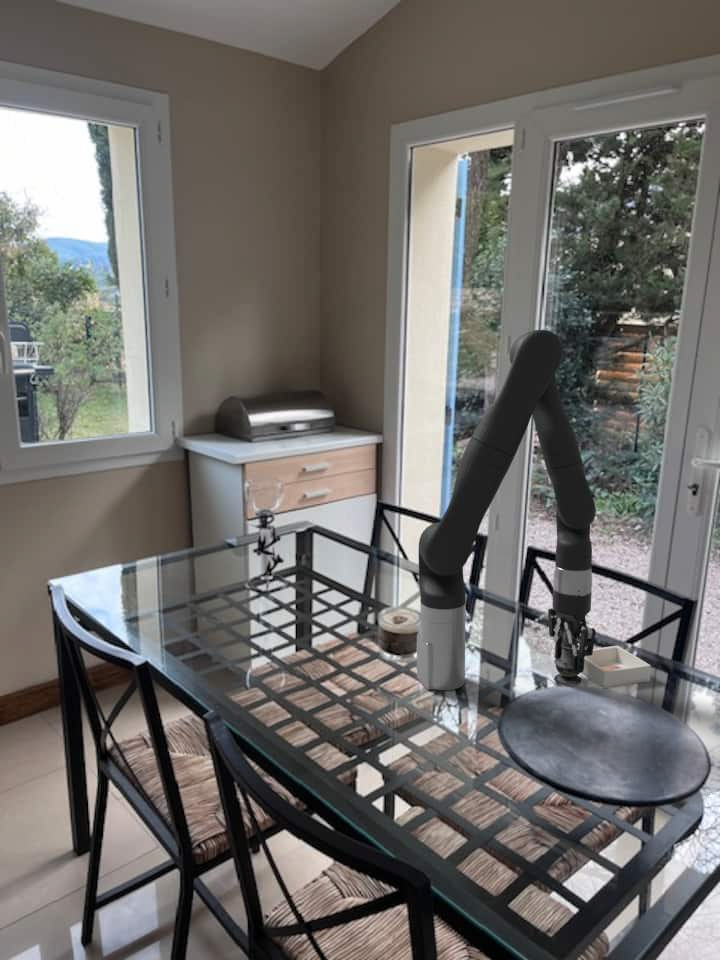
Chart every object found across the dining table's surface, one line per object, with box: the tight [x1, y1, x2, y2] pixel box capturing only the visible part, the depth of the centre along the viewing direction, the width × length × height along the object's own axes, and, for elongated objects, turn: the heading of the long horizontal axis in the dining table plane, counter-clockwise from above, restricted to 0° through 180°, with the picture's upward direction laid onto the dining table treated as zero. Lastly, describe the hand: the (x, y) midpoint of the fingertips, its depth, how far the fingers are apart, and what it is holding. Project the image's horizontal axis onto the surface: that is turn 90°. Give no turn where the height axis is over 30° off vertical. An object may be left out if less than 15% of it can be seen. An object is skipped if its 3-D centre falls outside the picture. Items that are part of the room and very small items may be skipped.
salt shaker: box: [553, 630, 582, 686], centre depth 148 cm, size 6×6×12 cm
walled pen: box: [581, 645, 652, 689], centre depth 152 cm, size 11×11×4 cm
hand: (569, 665), depth 149 cm, fingers closed on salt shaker, 6 cm apart
